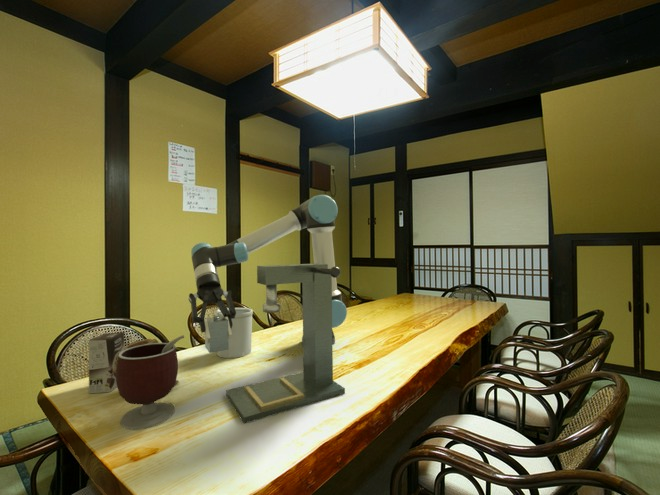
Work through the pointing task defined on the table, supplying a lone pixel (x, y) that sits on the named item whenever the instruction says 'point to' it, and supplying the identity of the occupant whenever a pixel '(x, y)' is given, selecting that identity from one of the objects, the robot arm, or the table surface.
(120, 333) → the coffee box
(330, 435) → the table surface
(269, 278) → the press
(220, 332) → the block
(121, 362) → the mate gourd
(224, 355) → the utensil holder
